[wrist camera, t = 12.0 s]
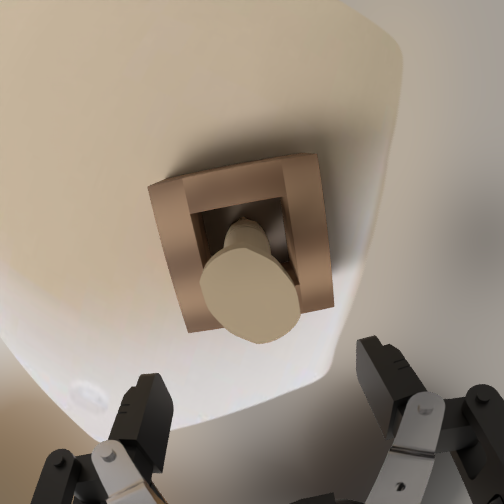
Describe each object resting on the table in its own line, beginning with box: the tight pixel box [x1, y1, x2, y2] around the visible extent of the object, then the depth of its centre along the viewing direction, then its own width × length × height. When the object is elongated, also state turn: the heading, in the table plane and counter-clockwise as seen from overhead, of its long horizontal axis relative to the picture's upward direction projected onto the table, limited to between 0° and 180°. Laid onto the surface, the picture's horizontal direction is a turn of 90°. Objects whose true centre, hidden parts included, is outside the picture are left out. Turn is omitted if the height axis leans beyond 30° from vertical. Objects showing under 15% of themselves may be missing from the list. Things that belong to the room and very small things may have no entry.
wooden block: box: [148, 153, 334, 333], centre depth 29 cm, size 14×14×6 cm
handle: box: [199, 217, 301, 344], centre depth 25 cm, size 5×6×15 cm
